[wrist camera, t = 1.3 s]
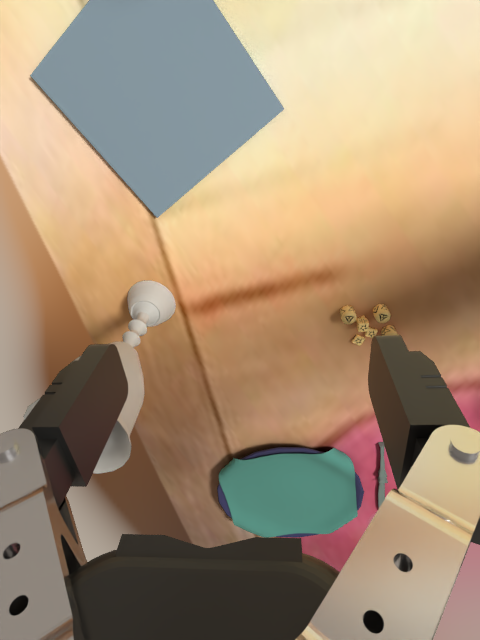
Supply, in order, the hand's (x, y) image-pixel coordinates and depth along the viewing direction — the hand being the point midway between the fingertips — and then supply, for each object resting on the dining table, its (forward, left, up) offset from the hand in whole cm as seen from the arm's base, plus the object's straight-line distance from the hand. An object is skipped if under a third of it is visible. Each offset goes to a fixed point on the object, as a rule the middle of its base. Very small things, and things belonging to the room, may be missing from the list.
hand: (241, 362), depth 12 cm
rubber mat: (+2, -10, -25) cm, 27 cm away
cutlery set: (+17, +38, -26) cm, 49 cm away
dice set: (0, +18, -26) cm, 31 cm away
